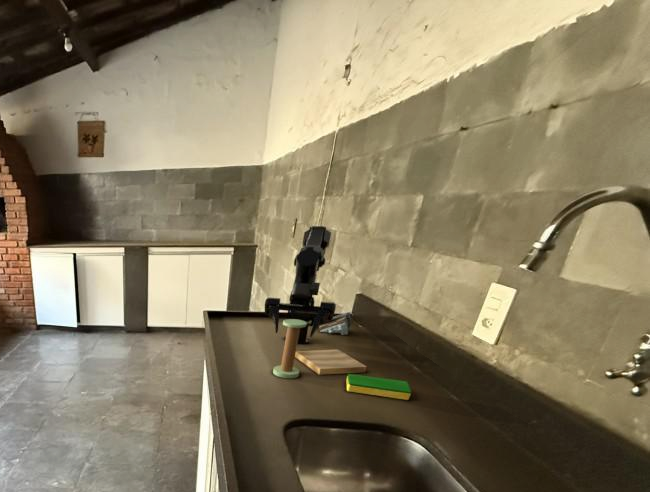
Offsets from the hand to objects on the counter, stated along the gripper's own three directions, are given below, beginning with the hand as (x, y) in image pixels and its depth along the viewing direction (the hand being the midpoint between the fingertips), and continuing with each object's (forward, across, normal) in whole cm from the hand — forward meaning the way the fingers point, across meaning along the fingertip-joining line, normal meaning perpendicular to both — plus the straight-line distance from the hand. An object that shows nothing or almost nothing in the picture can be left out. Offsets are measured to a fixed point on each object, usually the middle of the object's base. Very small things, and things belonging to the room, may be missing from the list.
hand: (293, 334), depth 119 cm
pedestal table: (+10, 0, +5) cm, 11 cm away
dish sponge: (+12, +23, +3) cm, 26 cm away
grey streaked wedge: (-24, +12, +40) cm, 48 cm away
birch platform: (+1, +11, +14) cm, 18 cm away
